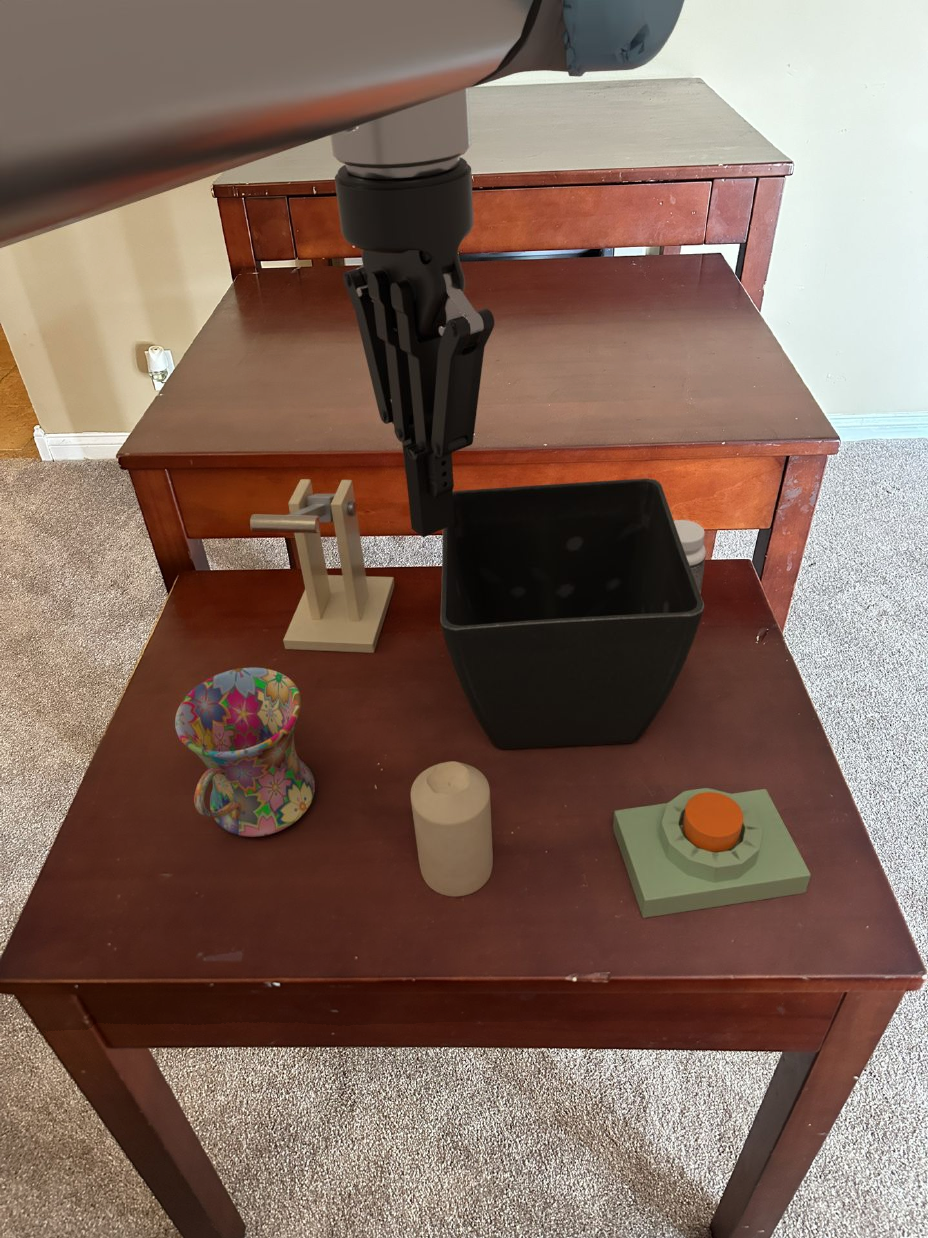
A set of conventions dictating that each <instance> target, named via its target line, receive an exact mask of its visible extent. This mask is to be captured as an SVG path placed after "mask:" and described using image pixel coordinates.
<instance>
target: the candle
mask: <svg viewBox="0 0 928 1238" xmlns="http://www.w3.org/2000/svg"><path fill="white" fill-rule="evenodd" d="M410 803H411V810H412V818H413V826H414V833H415V841H416V849H417V857H418V863H419V870H420V873H421V876H422V879H423V880H424V882H425V883H426V885H427V886H428V887H429V888H430V889H431V890H433V891H434V892H436V893H438V894H440V895H443V896H447V897H455V898H457V897H464V896H468V895H471V894H473V893H475V892H477V891H479V890H480V889H481V888H482V887H483V886H485V884H486V883H487V882H488V881H489V879H490V877H491V874H492V871H493V867H494V853H493V852H494V850H493V830H492V828H493V827H492V810H491V809H492V808H491V789H490V785H489V781H488V779H487V778H486V776H485V775H484V774H483V772H481V771H480V770H479V769H478V768H476V767H474V766H473V765H470V764H467V763H463V762H459V761H455V760H454V761H453V760H452V761H445V762H440V763H437V764H434V765H432V766H430V767H428V768H426V769H425V770H423V771H422V772H420V774H418V776H416V778H415V780H414V781H413V783H412V785H411V788H410Z"/></svg>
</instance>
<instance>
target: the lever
mask: <svg viewBox="0 0 928 1238" xmlns="http://www.w3.org/2000/svg"><path fill="white" fill-rule="evenodd" d="M335 494H336V493H313V495H311V496H308V497H307V503H308V507H306V508H303V509H300V510H298V511H295V512H293V513H290V512H289V513H288V514H265V513H264V514H261V513H254V514H251V516H250V520H249V525H250V526H249V527H250V530H251V531H252V532H254V533H280V534H281V533H283V534H284V533H286V534H294V533H316V534H317V533H318V532H319V530H320V529H321V523H322V524H331V523H334V521H333V515H332V509H331V503H332V501H333V498H334V496H335Z"/></svg>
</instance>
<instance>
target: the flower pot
mask: <svg viewBox="0 0 928 1238" xmlns="http://www.w3.org/2000/svg"><path fill="white" fill-rule="evenodd" d="M453 506H454V521H455V524H453V525H451V526H449V527H446V528H444V529H442V532H441V533H442V539H441V540H442V541H441V542H442V545H441V548H442V549H441V551H442V552H441V553H442V554H441V589H440V591H441V593H440V617H439V618H440V625H441V630H442V634H443V637H444V641H445V644H446V647H447V651H448V655H449V657H450V661H451V663H452V666H453V669H454V671H455V674H456V677H457V679H458V681H459V682H458V683H459V684H460V687H461V689H462V692H463V694H464V697H465V699H466V701H467V703H468V706H469V707H470V709H471V710H472V713H473V716H475V718H476V720H477V722H478V724H479V725H480V727H481V729H482V730H483V732H484V733H485V735H486V736H487V738H488V739H489V741H490V742H491V744H492V745H493V746H494V747H495V748H497V749H499V750H505V751H506V750H518V749H519V750H521V749H522V750H523V749H540V748H560V747H561V748H563V747H579V746H580V747H581V746H601V745H617V744H618V745H619V744H632V743H635V742H638V740H639V739H640V738H641V737H642V736H643V735H644V734H645V732H646V731H647V730H648V729H649V727H650V725H651V724H652V722H653V721H654V719H656V717H657V715H658V713H659V712H660V711H661V709H662V707H663V705H664V704H665V702H666V701H667V699H668V697H669V696H670V694H671V692H672V690H673V689H674V686H675V684H676V683H677V681H678V678H679V677H680V674H681V672H682V669H683V667H684V665H685V663H686V660H687V658H688V656H689V653H690V651H691V649H692V646H693V643H694V640H695V637H696V635H697V633H698V629H699V626H700V623H701V619H702V617H703V613H704V610H705V603H704V600H703V597H702V594H700V592H699V589H698V586H697V584H696V581H695V578H694V576H693V573H692V570H691V568H690V565H689V562H688V560H687V557H686V554H685V551H684V549H683V546H682V543H681V540H680V537H679V534H678V532H677V529H676V526H675V523H674V517H673V513H672V511H671V508H670V505H669V502H668V499H667V497H666V494H665V491H664V488H663V485H662V483H661V482H660V481H658V480H656V479H654V478H630V479H612V480H599V481H598V480H597V481H584V482H583V481H582V482H580V481H579V482H567V483H566V482H565V483H553V484H537V485H521V486H509V487H508V486H507V487H494V488H493V487H492V488H476V489H463V490H453Z"/></svg>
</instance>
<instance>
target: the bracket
mask: <svg viewBox="0 0 928 1238" xmlns="http://www.w3.org/2000/svg"><path fill="white" fill-rule="evenodd" d="M334 494H335V496H334V498H333V501H332V503H331V509H332V515H333V526H334V532H335V539H336V544H337V550H338V556H339V562H340V563H339V564H340V568H341V575H337V574H335V575H334V574H328V569H327V564H326V559H325V553H324V547H323V541H322V536H321V530H320V529H319V532H318V533H317V534H316V533H293V535H294V539H295V545H296V549H297V554H298V559H299V564H300V569H301V574H302V579H303V580H302V581H303V584H304V591H303V593H302V596H301V598H300V600H299V602H298V604H297V607H296V609H295V612H294V614H293V616H292V619H291V621H290V623H289V626H288V627H287V630H286V633H285V635H284V637H283V639H282V641H283V646H284V649H285V650H300V651H318V652H319V651H321V652H340V653H341V652H344V653H345V652H346V653H363V654H364V653H365V654H368V653H369V654H374V653H375V651H376V648H377V645H378V641H379V637H380V635H381V632H382V629H383V625H384V621H385V619H386V615H387V612H388V609H389V605H390V603H391V600H392V599H391V598H392V596H393V593H394V589H395V579H394V576H368V575H366V567H365V560H364V553H363V546H362V540H361V532H360V526H359V520H358V513H357V512H358V511H357V503H356V499H355V492H354V485H353V480H352V479H341V481H340V483H339V486H338V487H337V489H336V492H335V493H334ZM311 495H314V491H313V485H312V481H311V479H310V478H309V479H308V478H306V479H304V478H303V479H300V480H299V482H298V484H297V485H296V488H295V489H294V492H293V493H292V495H291V497H290V499H289V501H288V503H287V504H288V509H289V514H290V513H293V512H295V511H298V510H300V509H303V508H306V507H308V503H307V497H308V496H311Z"/></svg>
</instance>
